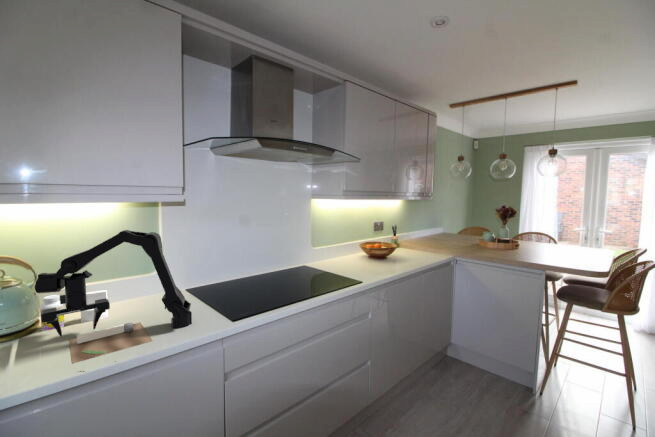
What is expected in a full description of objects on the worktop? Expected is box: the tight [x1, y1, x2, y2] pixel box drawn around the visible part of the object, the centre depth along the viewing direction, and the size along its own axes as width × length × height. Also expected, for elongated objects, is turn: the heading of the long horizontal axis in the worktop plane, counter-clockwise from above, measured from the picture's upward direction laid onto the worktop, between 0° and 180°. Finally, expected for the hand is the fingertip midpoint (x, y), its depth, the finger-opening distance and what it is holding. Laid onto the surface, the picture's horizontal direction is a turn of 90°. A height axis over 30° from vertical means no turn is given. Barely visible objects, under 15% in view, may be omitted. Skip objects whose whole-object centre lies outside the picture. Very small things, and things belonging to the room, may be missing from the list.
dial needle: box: [76, 322, 134, 344], centre depth 110 cm, size 16×3×3 cm, turn 132°
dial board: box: [68, 321, 153, 365], centre depth 108 cm, size 22×20×2 cm
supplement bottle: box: [40, 294, 65, 332], centre depth 118 cm, size 7×7×13 cm
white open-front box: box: [80, 289, 109, 324], centre depth 127 cm, size 9×9×12 cm
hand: (78, 332), depth 110 cm, fingers open, 9 cm apart
